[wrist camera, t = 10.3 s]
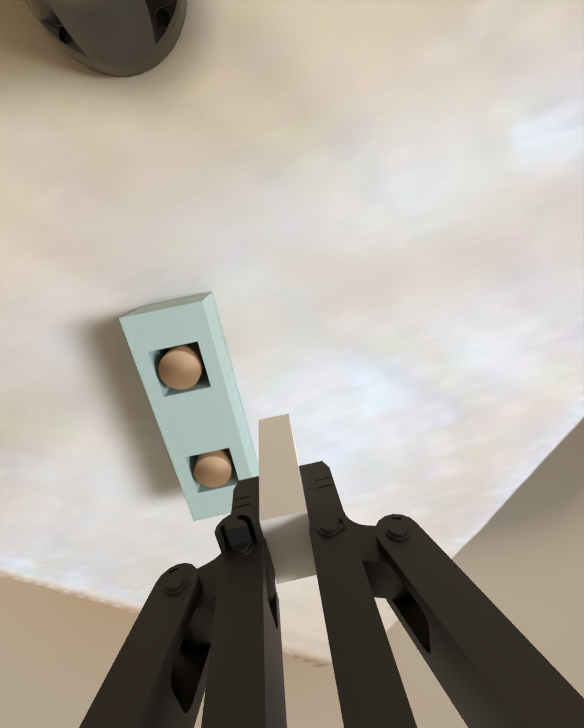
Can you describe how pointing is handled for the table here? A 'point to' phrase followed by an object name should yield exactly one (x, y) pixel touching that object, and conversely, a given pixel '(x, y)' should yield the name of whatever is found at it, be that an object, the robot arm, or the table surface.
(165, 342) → the socket board
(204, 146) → the table surface
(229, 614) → the robot arm
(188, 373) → the peg
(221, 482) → the peg
